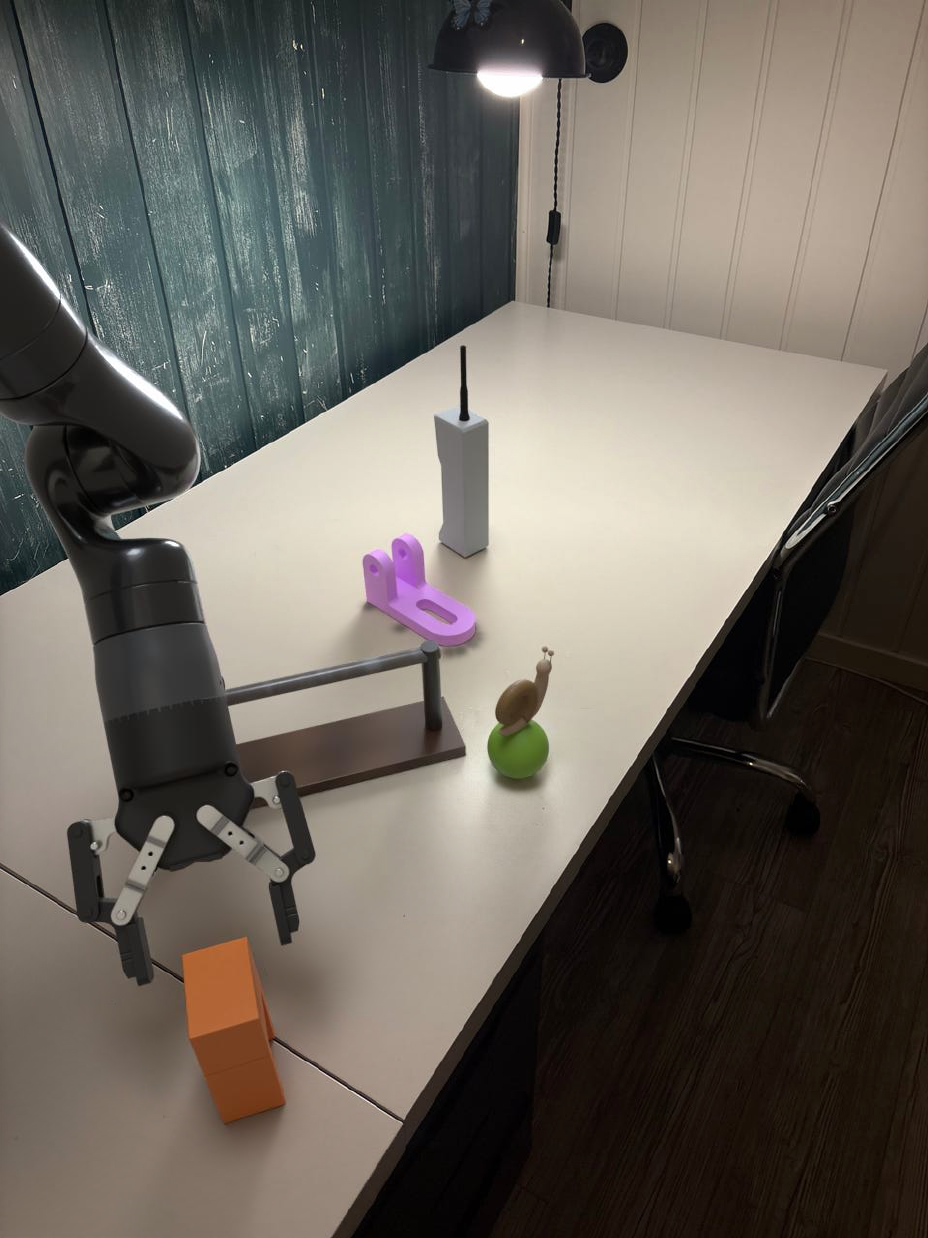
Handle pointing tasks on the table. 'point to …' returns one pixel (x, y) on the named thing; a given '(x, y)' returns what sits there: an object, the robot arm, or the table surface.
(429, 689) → the rail stand
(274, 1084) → the orange lidded gift box
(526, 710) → the snail figurine
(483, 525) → the vintage mobile phone
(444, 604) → the bracket
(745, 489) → the table surface
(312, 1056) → the table surface
